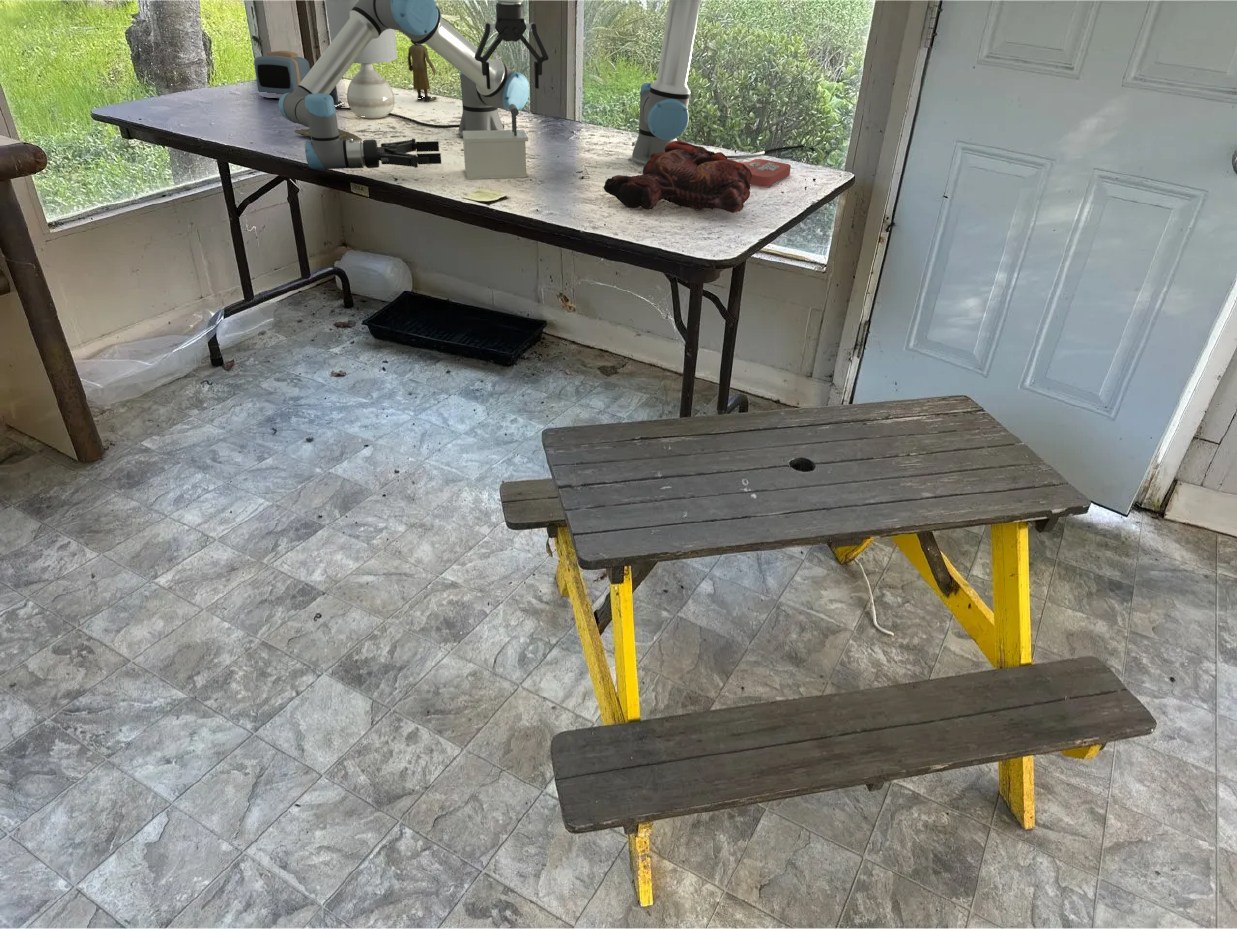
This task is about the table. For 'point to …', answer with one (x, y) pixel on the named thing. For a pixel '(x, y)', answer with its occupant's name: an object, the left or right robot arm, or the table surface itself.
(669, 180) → the sculpture
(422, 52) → the figurine
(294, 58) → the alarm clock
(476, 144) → the chest
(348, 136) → the stone tool
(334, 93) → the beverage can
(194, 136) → the table surface
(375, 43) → the lamp
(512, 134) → the lid
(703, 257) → the table surface
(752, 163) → the plaque
